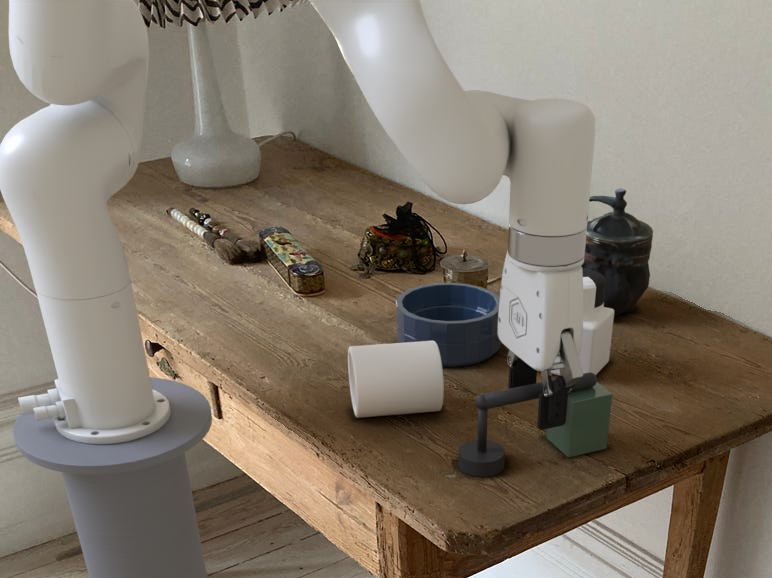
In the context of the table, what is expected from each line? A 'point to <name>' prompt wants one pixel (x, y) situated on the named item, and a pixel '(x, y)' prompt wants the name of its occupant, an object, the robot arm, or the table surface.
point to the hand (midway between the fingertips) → (536, 411)
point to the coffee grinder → (619, 253)
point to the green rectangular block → (584, 422)
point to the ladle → (483, 453)
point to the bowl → (451, 321)
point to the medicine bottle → (594, 324)
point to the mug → (395, 378)
